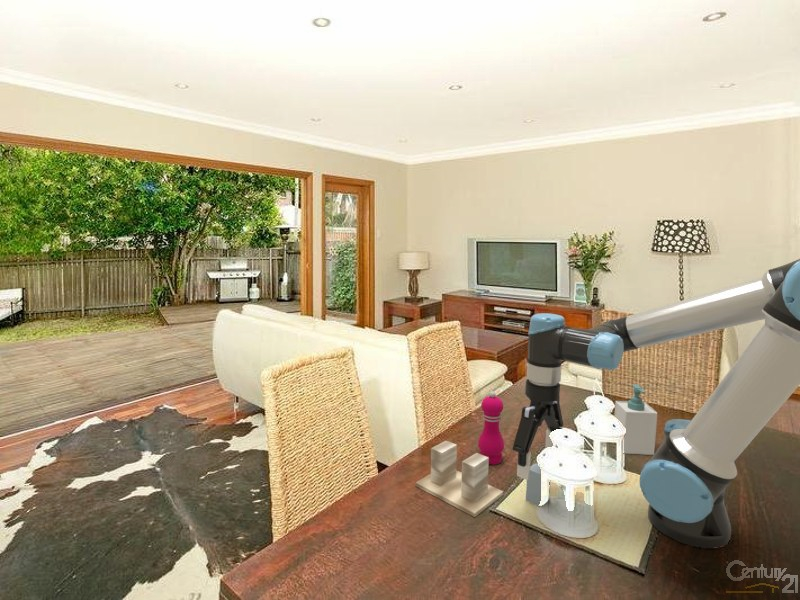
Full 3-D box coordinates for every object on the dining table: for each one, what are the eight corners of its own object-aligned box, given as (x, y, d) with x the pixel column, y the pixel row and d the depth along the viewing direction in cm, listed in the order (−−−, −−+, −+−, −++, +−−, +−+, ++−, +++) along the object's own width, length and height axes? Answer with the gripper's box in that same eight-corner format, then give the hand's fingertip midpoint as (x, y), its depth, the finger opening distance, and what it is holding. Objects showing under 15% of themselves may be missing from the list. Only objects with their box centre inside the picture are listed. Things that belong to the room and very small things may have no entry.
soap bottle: (623, 454, 129) (627, 390, 126) (612, 440, 138) (616, 380, 135) (654, 455, 128) (660, 392, 125) (641, 441, 137) (646, 381, 134)
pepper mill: (504, 466, 122) (506, 397, 119) (477, 464, 124) (479, 395, 121) (503, 454, 129) (505, 388, 126) (478, 451, 131) (479, 386, 128)
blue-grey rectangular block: (549, 500, 107) (551, 468, 106) (541, 507, 104) (543, 475, 103) (534, 493, 110) (535, 463, 108) (525, 500, 107) (527, 469, 106)
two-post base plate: (503, 495, 109) (504, 456, 107) (474, 517, 100) (475, 475, 99) (445, 468, 121) (445, 433, 120) (415, 486, 113) (415, 449, 111)
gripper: (552, 365, 114) (546, 443, 117) (499, 389, 96) (495, 480, 100) (581, 372, 109) (575, 453, 112) (531, 399, 91) (525, 494, 95)
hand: (537, 466), depth 106 cm, fingers open, 13 cm apart
